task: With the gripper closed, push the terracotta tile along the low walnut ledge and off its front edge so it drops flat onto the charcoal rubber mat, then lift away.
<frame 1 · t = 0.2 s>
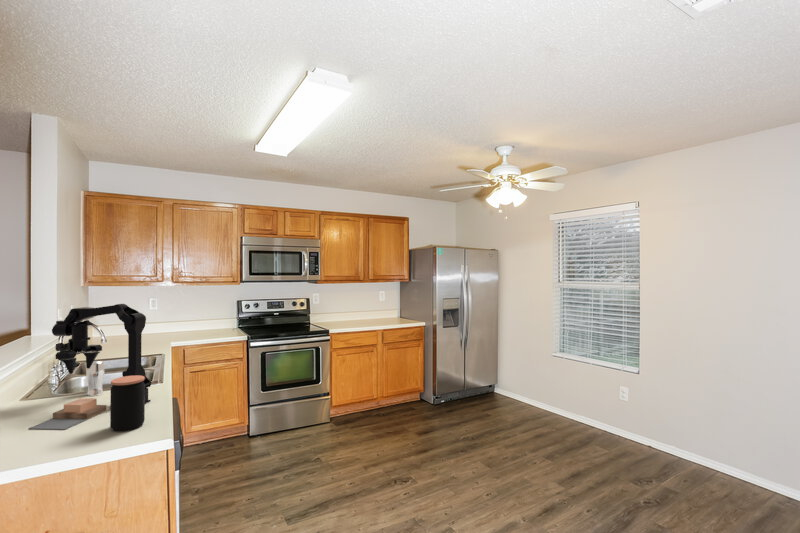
hand: (79, 371, 179), 14 cm above the worktop, tool pointing down, fingers open, 9 cm apart
coffee jar: (127, 427, 152), on the worktop
walnut ledge: (80, 415, 164), on the worktop
terracotta tile: (80, 408, 164), point 2 cm above the worktop, touching walnut ledge
beer glass: (95, 394, 192), on the worktop
charcoal mat: (58, 424, 154), on the worktop
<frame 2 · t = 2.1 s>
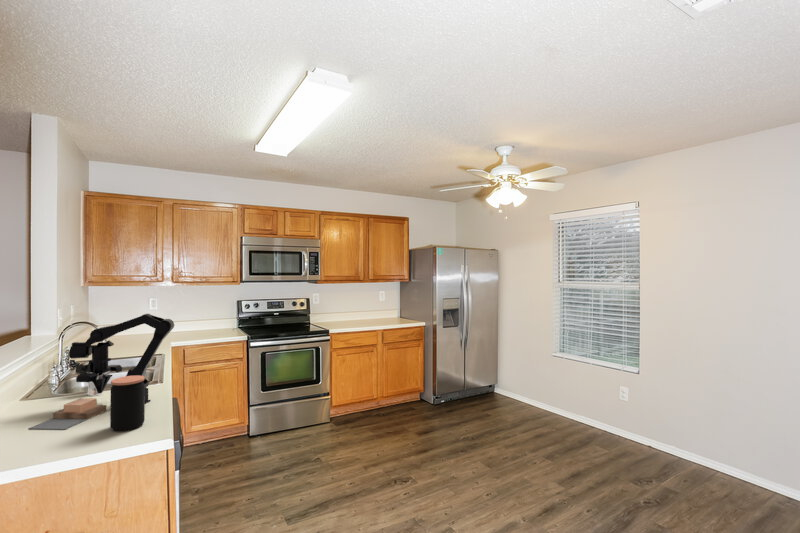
hand: (100, 393, 174), 6 cm above the worktop, tool pointing down, fingers closed
nothing on the worktop moved.
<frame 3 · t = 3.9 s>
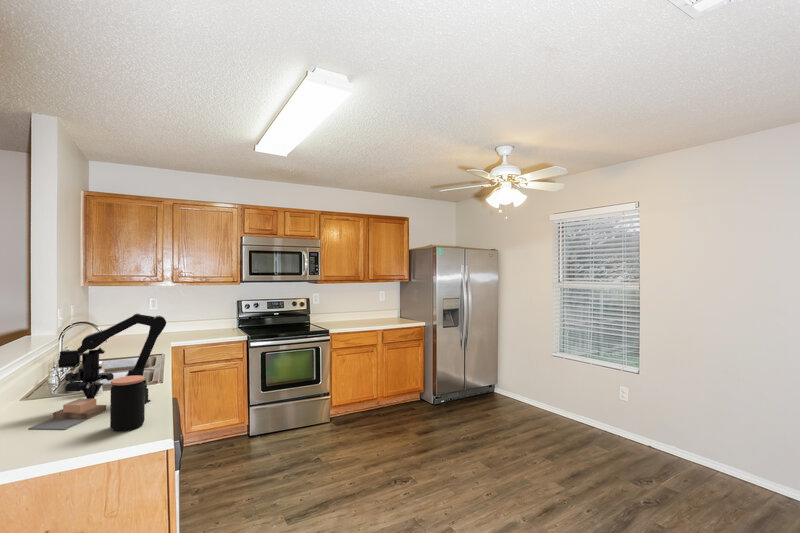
hand: (90, 402, 169), 4 cm above the worktop, tool pointing down, fingers closed
terracotta tile: (80, 409, 164), point 3 cm above the worktop, touching gripper
everything else where it was.
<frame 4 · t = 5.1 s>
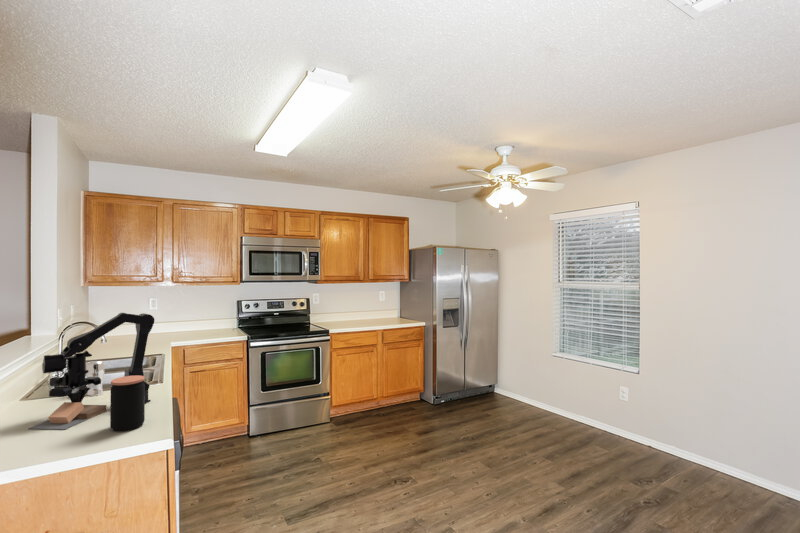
hand: (76, 407, 162), 4 cm above the worktop, tool pointing down, fingers closed
terracotta tile: (67, 415, 158), point 2 cm above the worktop, tilted 24°, touching gripper
everything else where it was.
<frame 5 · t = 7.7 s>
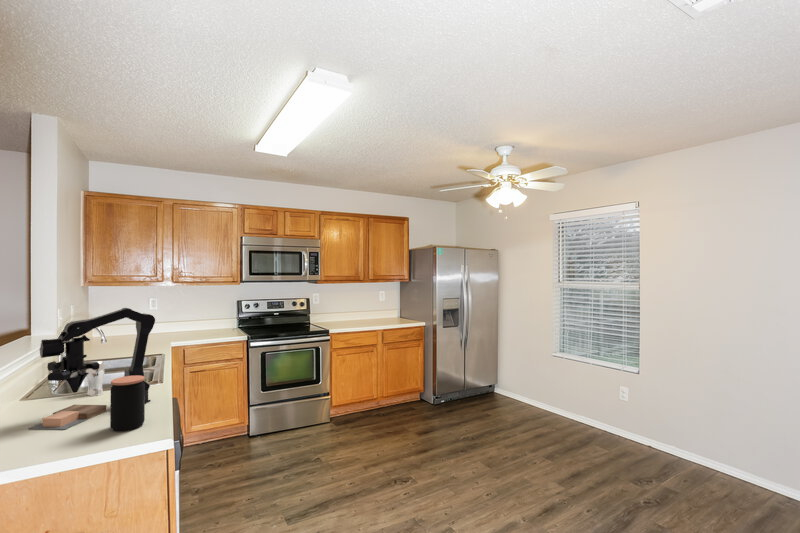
hand: (75, 392, 161), 10 cm above the worktop, tool pointing down, fingers closed
terracotta tile: (61, 422, 155), resting on charcoal mat
everything else where it was.
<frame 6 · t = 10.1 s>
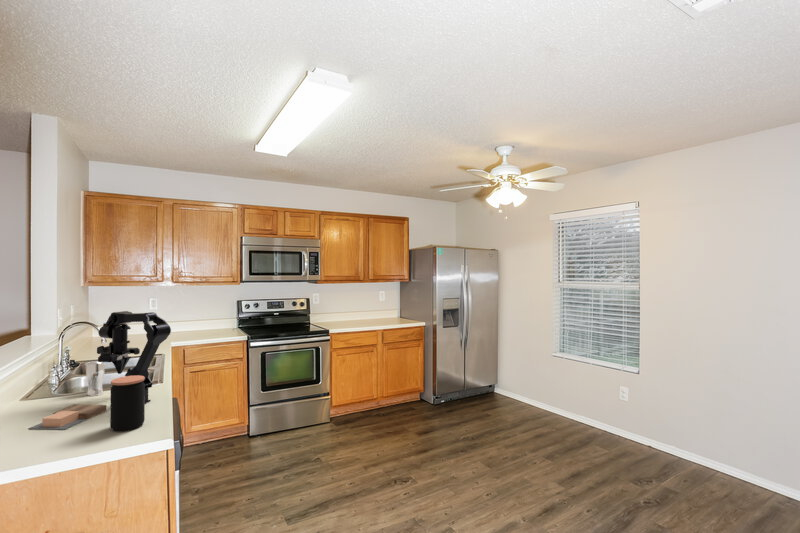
hand: (119, 373, 183), 12 cm above the worktop, tool pointing down, fingers closed
nothing on the worktop moved.
at the end: terracotta tile resting on charcoal mat; terracotta tile inside the target area (1.4 cm from its centre), resting on charcoal mat; terracotta tile tilted 0° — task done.
